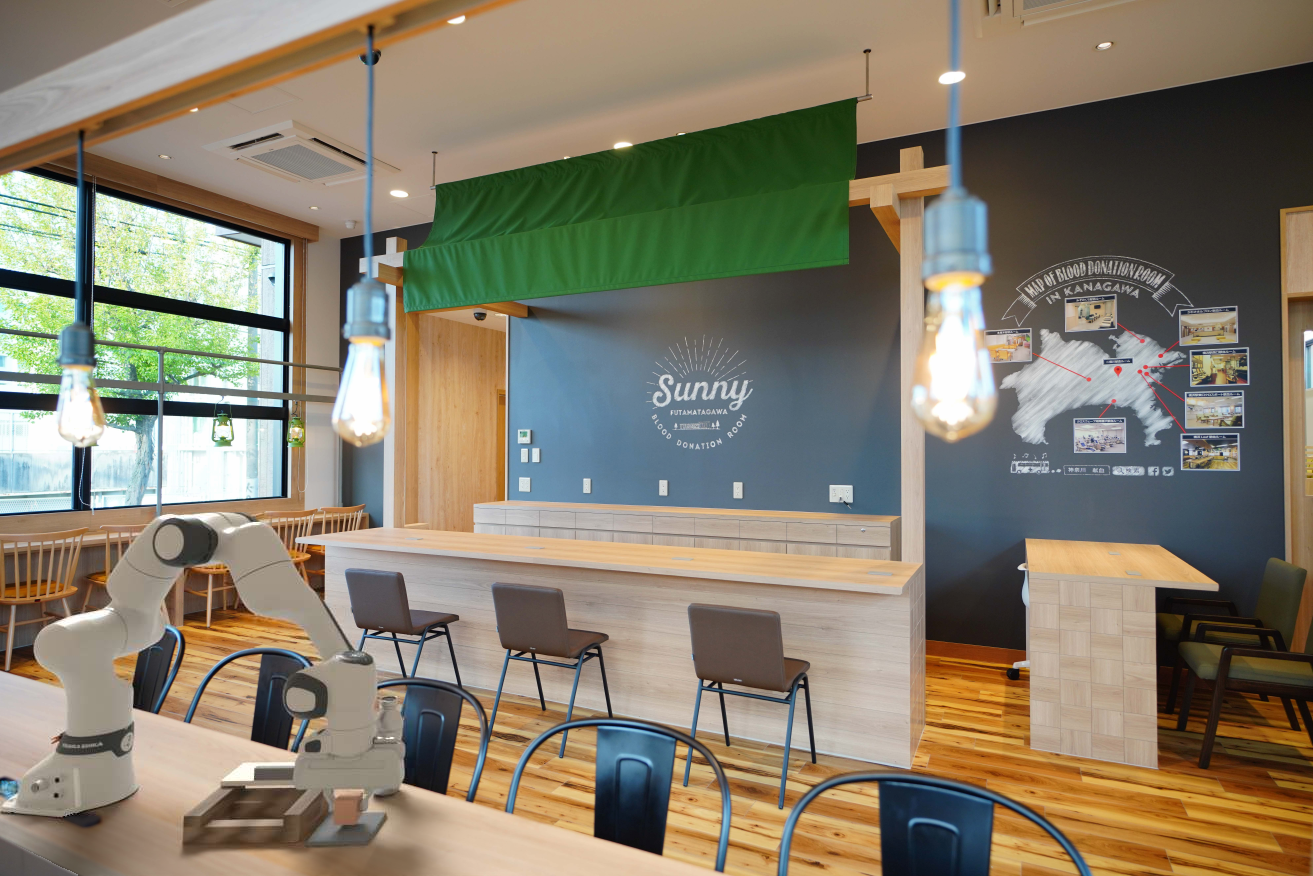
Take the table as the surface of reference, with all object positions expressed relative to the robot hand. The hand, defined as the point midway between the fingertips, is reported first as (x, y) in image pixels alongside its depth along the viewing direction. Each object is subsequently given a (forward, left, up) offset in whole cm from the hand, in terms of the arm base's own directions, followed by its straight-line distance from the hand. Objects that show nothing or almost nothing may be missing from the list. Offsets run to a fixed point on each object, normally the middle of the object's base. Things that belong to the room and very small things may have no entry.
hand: (348, 810), depth 136 cm
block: (0, 0, -2) cm, 2 cm away
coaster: (0, 0, -4) cm, 4 cm away
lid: (-18, +13, +1) cm, 22 cm away
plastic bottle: (+2, +16, -4) cm, 17 cm away
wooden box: (-18, +4, -4) cm, 19 cm away
